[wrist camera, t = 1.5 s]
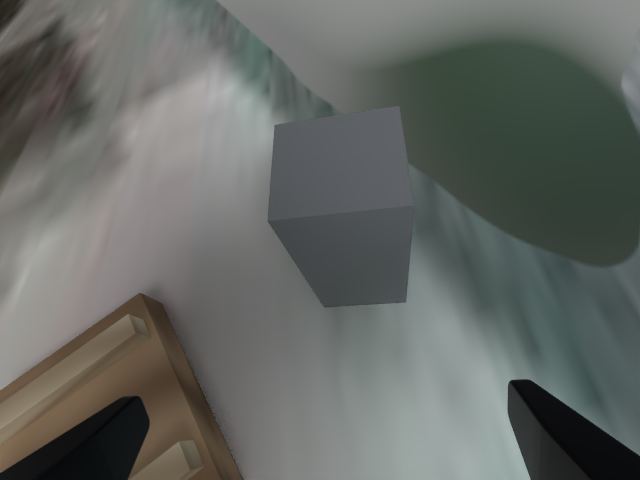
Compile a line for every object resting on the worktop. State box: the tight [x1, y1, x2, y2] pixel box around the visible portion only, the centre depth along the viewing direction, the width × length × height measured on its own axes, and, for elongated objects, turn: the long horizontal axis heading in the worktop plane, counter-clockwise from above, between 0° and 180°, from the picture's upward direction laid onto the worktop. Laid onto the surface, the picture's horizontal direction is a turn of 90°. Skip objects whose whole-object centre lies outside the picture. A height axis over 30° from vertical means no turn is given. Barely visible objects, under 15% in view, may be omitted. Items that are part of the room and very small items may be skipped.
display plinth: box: [0, 293, 243, 480], centre depth 21 cm, size 14×12×4 cm
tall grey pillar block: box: [268, 106, 414, 307], centre depth 19 cm, size 5×6×12 cm
